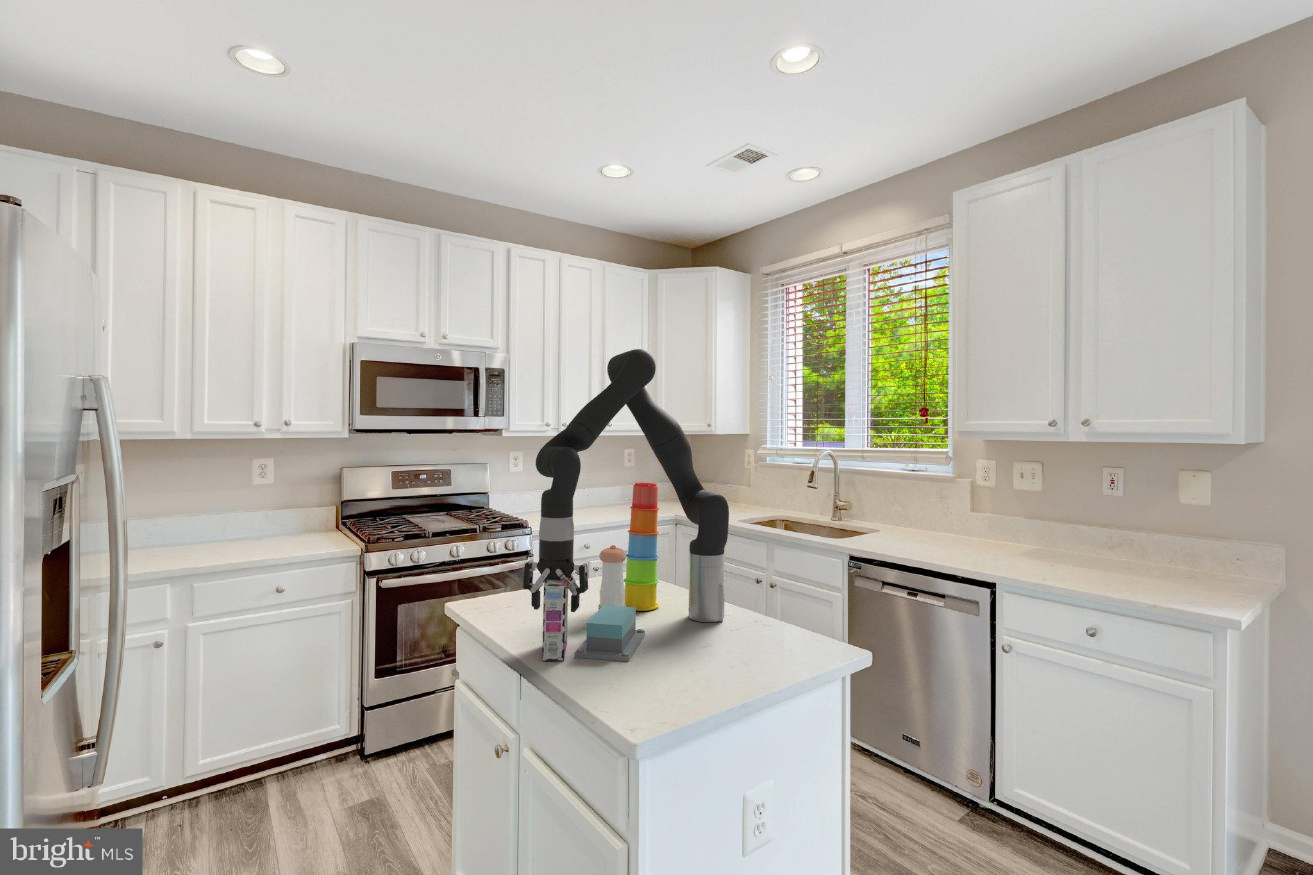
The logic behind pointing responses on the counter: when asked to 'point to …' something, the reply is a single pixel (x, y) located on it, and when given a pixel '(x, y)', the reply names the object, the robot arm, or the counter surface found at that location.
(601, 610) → the teal gray mounted block
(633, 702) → the counter surface
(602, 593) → the pepper shaker
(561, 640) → the candy bar box
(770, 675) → the counter surface
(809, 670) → the counter surface
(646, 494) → the stacking cups
